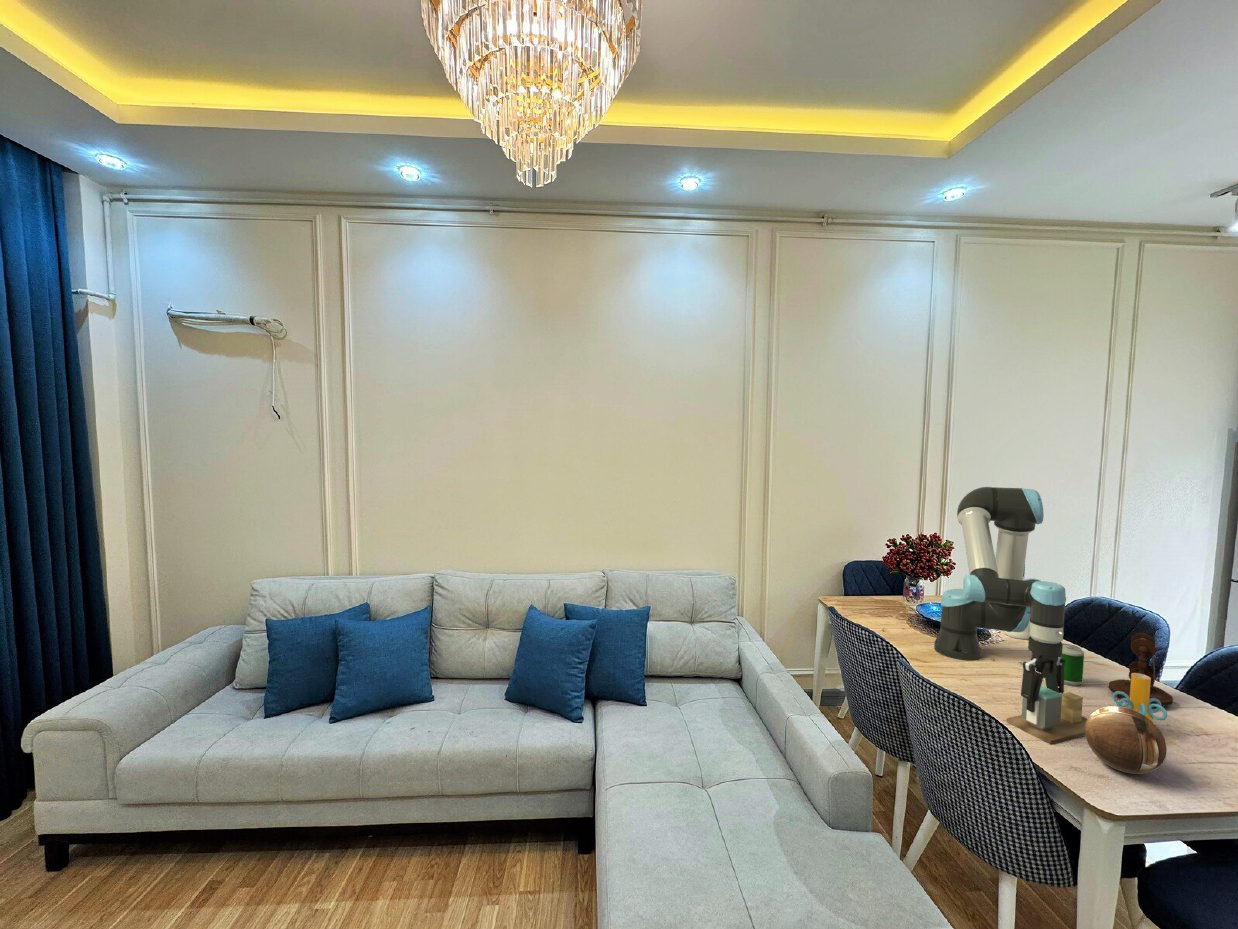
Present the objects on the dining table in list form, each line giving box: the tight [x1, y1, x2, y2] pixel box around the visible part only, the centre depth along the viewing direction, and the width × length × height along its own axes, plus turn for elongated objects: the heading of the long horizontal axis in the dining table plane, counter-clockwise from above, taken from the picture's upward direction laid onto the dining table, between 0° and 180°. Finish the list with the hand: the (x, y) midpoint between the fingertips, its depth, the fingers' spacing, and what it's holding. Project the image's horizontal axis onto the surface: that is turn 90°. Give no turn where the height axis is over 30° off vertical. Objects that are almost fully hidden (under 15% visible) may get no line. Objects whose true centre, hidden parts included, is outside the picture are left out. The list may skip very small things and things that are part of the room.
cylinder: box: [1111, 673, 1168, 723], centre depth 157 cm, size 12×10×15 cm
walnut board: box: [1006, 691, 1088, 745], centre depth 158 cm, size 12×22×8 cm, turn 109°
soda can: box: [1060, 642, 1085, 687], centre depth 186 cm, size 8×8×12 cm
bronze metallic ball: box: [1085, 705, 1168, 775], centre depth 139 cm, size 15×15×15 cm
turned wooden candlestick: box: [1107, 632, 1174, 711], centre depth 174 cm, size 15×15×20 cm
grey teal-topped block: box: [1021, 684, 1062, 728], centre depth 156 cm, size 6×6×9 cm
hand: (1040, 720), depth 156 cm, fingers closed on grey teal-topped block, 6 cm apart
